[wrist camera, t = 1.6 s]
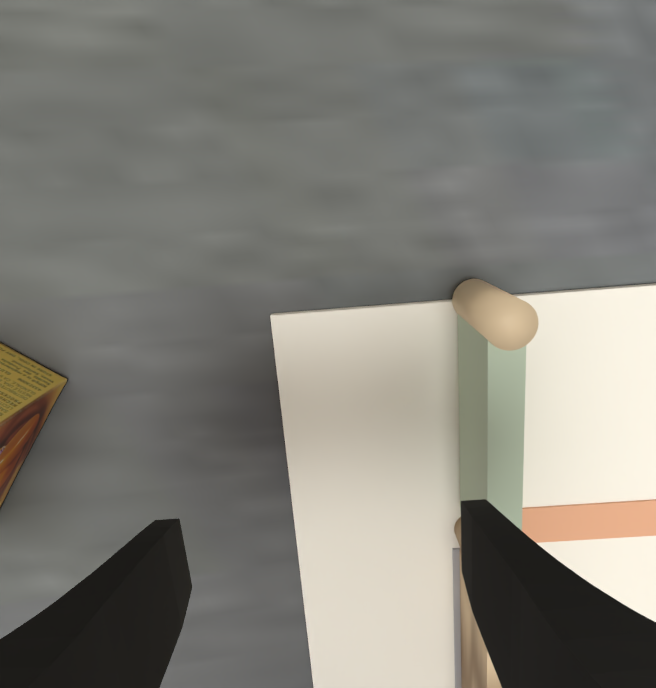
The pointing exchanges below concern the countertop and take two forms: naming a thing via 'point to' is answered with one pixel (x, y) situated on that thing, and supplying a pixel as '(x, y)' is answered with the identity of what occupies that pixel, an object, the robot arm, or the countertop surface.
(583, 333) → the card
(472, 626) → the fixed fence
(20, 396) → the candy box
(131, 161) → the countertop surface
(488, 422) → the green and tan bar
